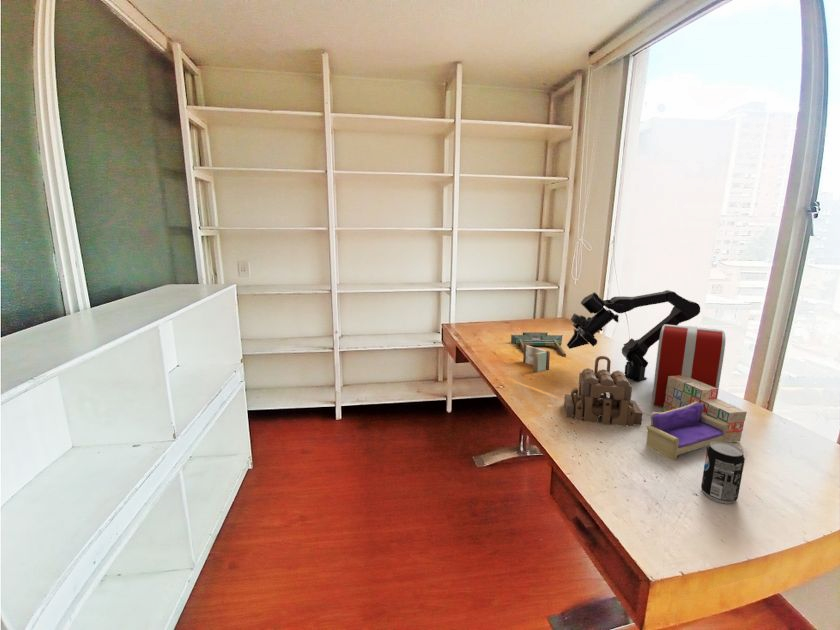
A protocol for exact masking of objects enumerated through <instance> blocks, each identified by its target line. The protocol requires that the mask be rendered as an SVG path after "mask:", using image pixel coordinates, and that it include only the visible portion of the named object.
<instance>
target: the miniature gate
mask: <svg viewBox="0 0 840 630" xmlns="http://www.w3.org/2000/svg"><path fill="white" fill-rule="evenodd" d="M510 336H511V337H510V344H512V343H516V346H520V349H521V351H522V352H523V353H524V345H528V346H545V347H546V346H549V347H552V348H555V349H556V350H557V352H558V354H559V355H560V356H561V357H563V358H566V357H567V353H566V352H565V351H564V349H563V348H562V347H561V346H562V344H563V336H564V335H563V334H560V335H559V334H557V335H555V334H553V335H552V334H548V331H547V332H534V331H533V332H531V331H530V332H528V331H527V332H524V331H522V334H510Z"/></svg>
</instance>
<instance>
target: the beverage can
mask: <svg viewBox="0 0 840 630" xmlns="http://www.w3.org/2000/svg"><path fill="white" fill-rule="evenodd" d="M704 458H705V459H704V466H703V471H702V479H701V485H700V487H701V491H702V492H703V493H704V495H706V497H708V499H709V498H710V499H711V500H712V501H714V502H717V503H721V504H728V505H729V504H732V503H735V502H737V501H738V499H739V494H740V489H741V483H742V478H743V471H744V466H745V461H746V460H745V459H746V458H745V456H744V451H743V449H741V448H740V447H738V445H737V446H736V445H735V444H733V443H731V442H721V441H714V442H711V443H710V445H708V447H707V448H706V453H705V457H704Z"/></svg>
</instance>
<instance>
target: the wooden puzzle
mask: <svg viewBox="0 0 840 630" xmlns="http://www.w3.org/2000/svg"><path fill="white" fill-rule="evenodd" d="M600 360H606V369H600V370H598V368H599V362H600ZM611 363H612V362H611V359H610V357H608V356H606V355H600V356H597V357H596V359H595V360H594V369H591V368H589V367H588V368H584V369H583V370H582V372H579V374H578V375H579V376H578V377H579V378H578V387H574V388H572V390H571V391H570V394H567V393H566V394H564V402H563V403H564V408H565V417H566V418H569V419H574V420H576V421H583V422H589V423H597V424H598V423H599V417H601V419H600V423H601V425H603V426H610V424H611V425H614V426H621V427H627V426H628V427H635V426H642V421H643V414H644V413H643V411H642V410H641V408H640V405H639V404H638V403H637V401H636V400H634V399H633V400H632V390H633V387H632V385H631V383H630V381H629V380H628V378H626V377H625V374H624V373H625V372H623V371H620V370H614V371H612V373H611ZM607 393H608V394H609V397H608V396H607Z"/></svg>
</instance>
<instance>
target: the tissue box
mask: <svg viewBox="0 0 840 630" xmlns="http://www.w3.org/2000/svg"><path fill="white" fill-rule="evenodd" d="M657 345H658V347H657V352H656V353H657V354H656V362H655V363H656V364H655V370H654V380H653V389H652V396H651V406H655V407H659V408H664V402H665V396H666V388H667V382H668V376H678V375H680V376H684V377H689V378H692V379H695V380H697V381H700V382H702V383H705V384H707V385H710V386H712V387H715V388H717V389H718V391H719V390H720V389H719V387H720V383H721V376H722V369H723V364H724V363H723V362H724V357H725V351H726V333H725V331H724V330H722V329H714V328H706V327H705V328H703V327H698V326H693V325H689V326H687V325H686V326H685V325H679V324H678V325H669V324H664V325H663V326H662V329H661V332H660V338H659V340H658V344H657ZM718 394H719V393H718ZM718 394H717V398H716V399H718Z"/></svg>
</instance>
